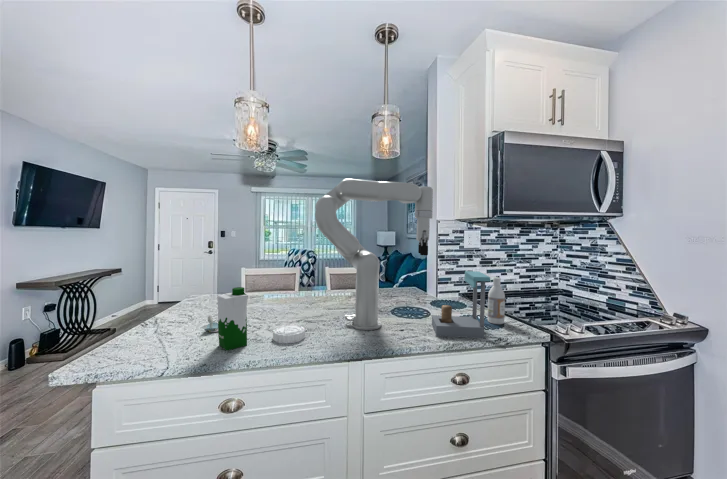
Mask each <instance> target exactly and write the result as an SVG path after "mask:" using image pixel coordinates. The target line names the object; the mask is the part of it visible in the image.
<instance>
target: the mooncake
mask: <svg viewBox="0 0 727 479" xmlns="http://www.w3.org/2000/svg"><path fill="white" fill-rule="evenodd" d="M305 338H306V328H305V327H303V326H302V325H299V324H284V325H281V326H278V327H276V328H274V329H273V331H272V340H273V341H274V342H276V343H278V344H290V343H292V344H293V343H296V342H297V343H298V342H300V341H304V340H303V339H305Z"/></svg>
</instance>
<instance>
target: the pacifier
mask: <svg viewBox="0 0 727 479" xmlns="http://www.w3.org/2000/svg"><path fill="white" fill-rule="evenodd" d="M207 322H208V324H207V325H206V328H204V331H208V332H209V333H218V322H215V321H214V319H213V317H212V315H209V316H208V317H207Z"/></svg>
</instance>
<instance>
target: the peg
mask: <svg viewBox="0 0 727 479" xmlns="http://www.w3.org/2000/svg"><path fill="white" fill-rule="evenodd" d="M452 313H453V306H452V305H448V304H444V305H441V316H442V317H441V323H452V316H453V315H452Z"/></svg>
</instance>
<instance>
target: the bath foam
mask: <svg viewBox="0 0 727 479" xmlns="http://www.w3.org/2000/svg"><path fill="white" fill-rule="evenodd" d="M501 282H502V281H501V277H496V276H495V277H493V282H492V283H493V284H492V285H493V286H492V287H491V288H490V289H489V291H488V293H487V322H488V323H491V324H494V325H503V324H504V323H505V316H506V313H505V312H506V309H505V308H506V294H505V290H503V288H502V286H501Z"/></svg>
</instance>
